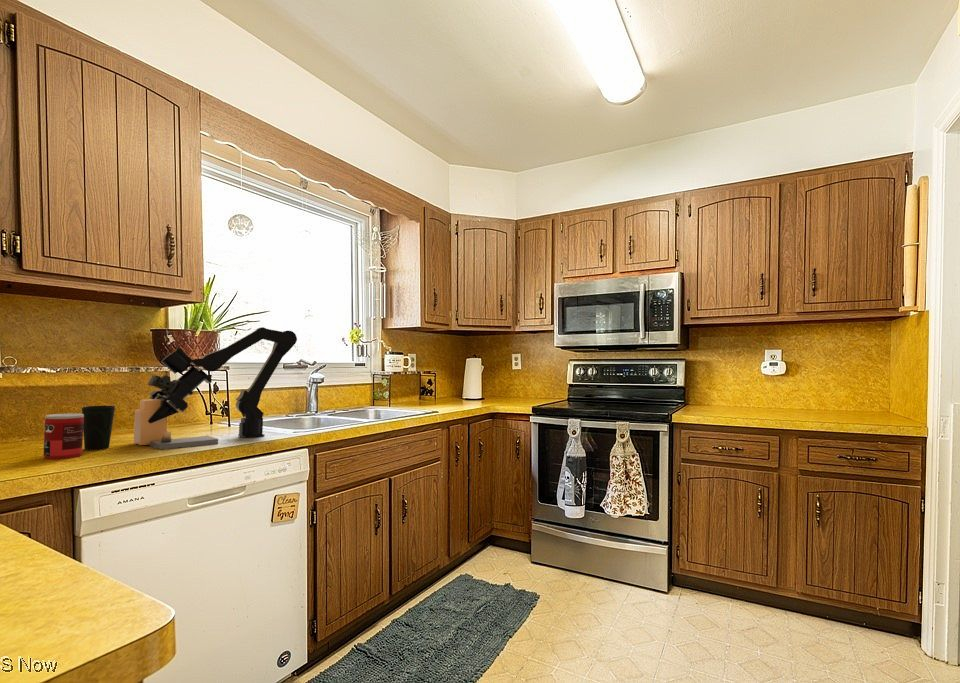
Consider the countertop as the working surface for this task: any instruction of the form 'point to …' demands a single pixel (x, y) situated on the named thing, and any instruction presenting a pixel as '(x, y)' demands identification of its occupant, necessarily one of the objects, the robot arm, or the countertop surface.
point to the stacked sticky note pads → (143, 428)
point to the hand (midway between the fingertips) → (145, 421)
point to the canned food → (63, 435)
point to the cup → (97, 426)
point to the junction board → (181, 441)
